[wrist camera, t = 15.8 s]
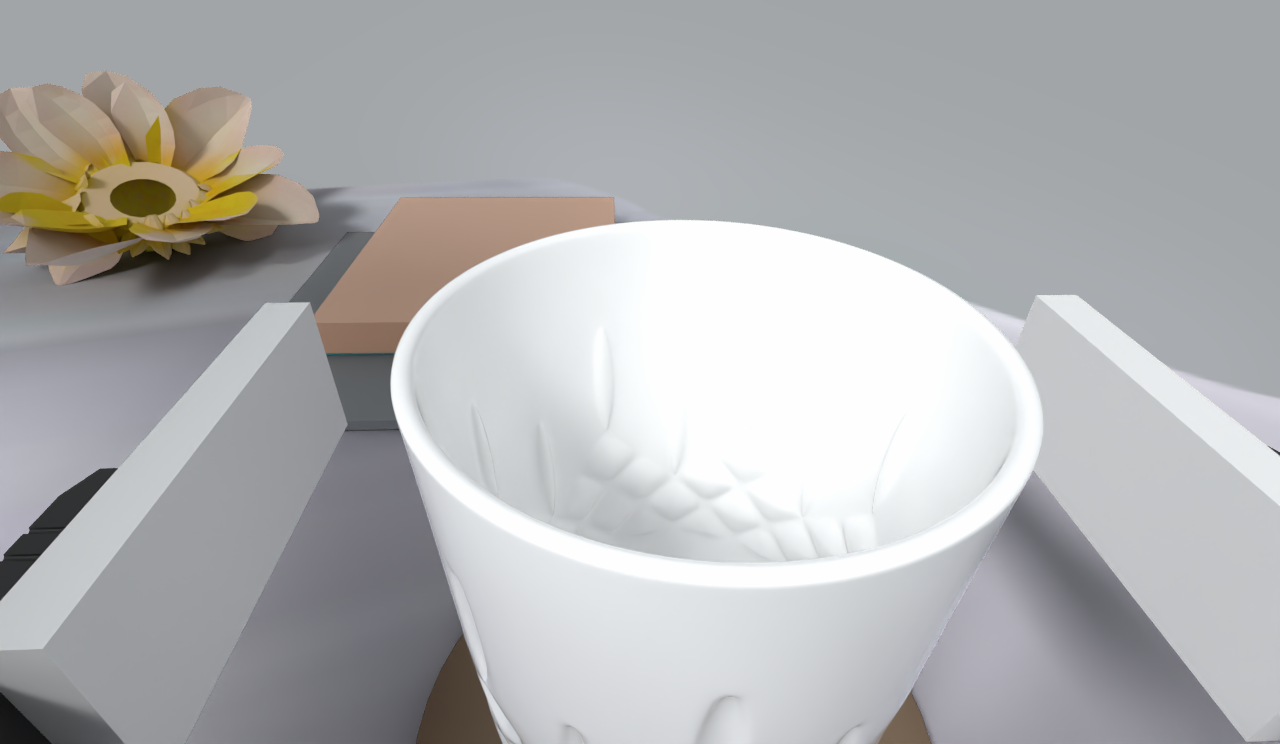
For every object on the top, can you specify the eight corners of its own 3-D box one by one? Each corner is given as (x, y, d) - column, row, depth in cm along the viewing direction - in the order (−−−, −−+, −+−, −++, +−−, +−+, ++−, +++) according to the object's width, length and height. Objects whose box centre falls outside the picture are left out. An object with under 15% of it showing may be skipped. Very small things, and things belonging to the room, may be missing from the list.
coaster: (337, 1129, 10) (328, 1121, 9) (466, 548, 19) (463, 535, 18) (1050, 1085, 10) (1065, 1077, 10) (842, 540, 19) (846, 525, 19)
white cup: (887, 648, 16) (1035, 271, 10) (812, 1080, 10) (1071, 755, 4) (599, 538, 18) (588, 192, 13) (405, 824, 13) (227, 415, 7)
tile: (307, 323, 25) (401, 197, 37) (318, 357, 26) (406, 224, 38) (617, 320, 26) (614, 197, 37) (617, 354, 27) (614, 223, 38)
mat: (192, 432, 23) (187, 423, 23) (348, 238, 37) (347, 232, 37) (647, 425, 24) (647, 416, 23) (631, 237, 38) (631, 231, 37)
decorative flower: (-63, 330, 25) (-208, 39, 21) (-28, 290, 33) (-128, 76, 30) (340, 256, 33) (286, 39, 30) (288, 238, 42) (241, 67, 38)
